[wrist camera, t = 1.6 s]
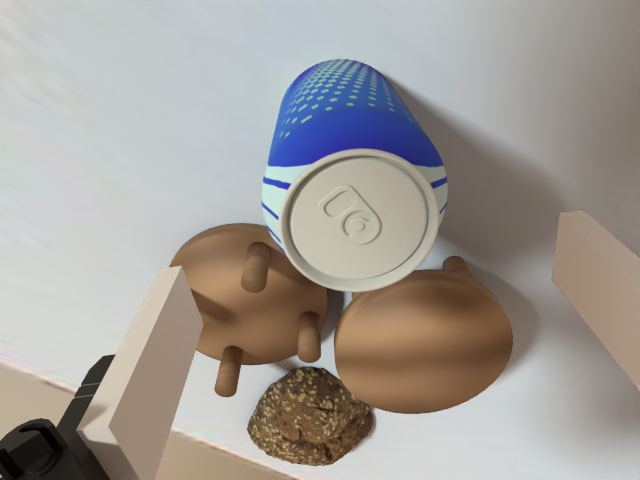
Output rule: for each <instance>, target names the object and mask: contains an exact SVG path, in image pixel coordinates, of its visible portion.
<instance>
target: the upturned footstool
mask: <svg viewBox="0 0 640 480" xmlns="http://www.w3.org/2000/svg"><path fill="white" fill-rule="evenodd" d="M176 266H182V268H183V271H184V273H185V276H186V279H187V281H188V284H189V287H190V289H191V292H192V295H193V297H194V300H195V303H196V305H197V308H198V311H199V314H200V316H201V319H202V322H203V324H204V325H203V328H202V331H201V334H200V338H199V341H198V344H197V347H196V350H197V351H199V352H200V353H202V354H204V355H206V356H209V357H211V358H214V359H216V360H219V361H221V363H220V367H219V371H218V376H217V380H216V384H215V392H216V393H217V394H218V395H219V396H222V397H231V396H233V395H234V394H235V393H236V390H237V384H238V379H239V373H240V368H241V365H261V364H268V363H273V362H277V361H281V360H283V359H286V358H289V357H291V356H293V355H295V354H297V353H298V357H299V359H300V360H301V361H303V362H306V363H313V362H316V361H317V360H318V359H319V358H320V356H321V344H320V331H321V329H322V327H323V324H324V322H325V319H326V315H327V308H328V302H327V287H324V286H321V285H319V284H317V283H315V282H313V281H312V280H310V279H308V278H307V277H306V276H304V275H303V274H302V273H301V272H300V271H298V270H297V268H296V267H295V266H294V265H293V264H292V263H291V261H290V260H289V258H288V257H287V256H286V255H285V254H284V253H283V251H282V250H281V249H280V248H279V247H278V245H277V244H276V243H275V241H274V239H273V238H272V236H271V234H270V232H269V230H268V228H267V226H262V225H257V224H247V223H236V224H227V225H221V226H217V227H214V228H210V229H208V230H206V231H203V232H201V233H199V234H197V235H196V236H194V237H193V238H191V239H190V240H189V241H188V242H186V243H185V244H184V245H183V246H182V247H181V248H180V249H179V251H178V252H177V253H176V255H175V257H174V258H173V260H172V262H171V264H170V266H169V267H176Z"/></svg>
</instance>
